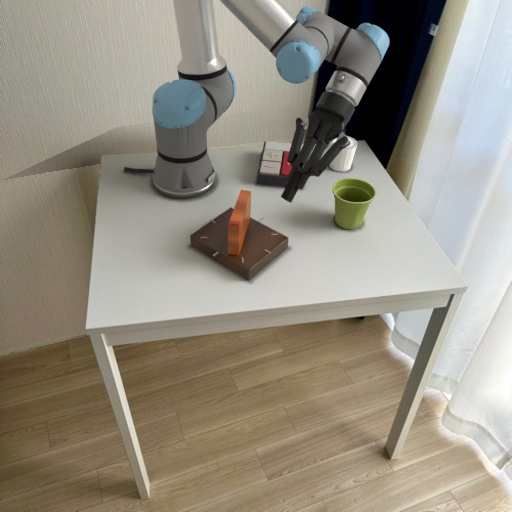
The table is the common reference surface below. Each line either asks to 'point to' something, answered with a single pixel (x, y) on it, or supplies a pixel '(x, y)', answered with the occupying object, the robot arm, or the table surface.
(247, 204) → the pointer
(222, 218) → the dial panel
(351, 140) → the white fluted cup
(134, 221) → the table surface
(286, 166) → the calculator
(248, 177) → the table surface
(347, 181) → the plant pot
